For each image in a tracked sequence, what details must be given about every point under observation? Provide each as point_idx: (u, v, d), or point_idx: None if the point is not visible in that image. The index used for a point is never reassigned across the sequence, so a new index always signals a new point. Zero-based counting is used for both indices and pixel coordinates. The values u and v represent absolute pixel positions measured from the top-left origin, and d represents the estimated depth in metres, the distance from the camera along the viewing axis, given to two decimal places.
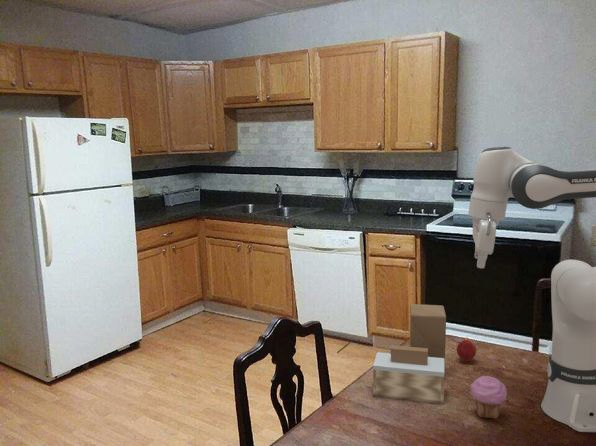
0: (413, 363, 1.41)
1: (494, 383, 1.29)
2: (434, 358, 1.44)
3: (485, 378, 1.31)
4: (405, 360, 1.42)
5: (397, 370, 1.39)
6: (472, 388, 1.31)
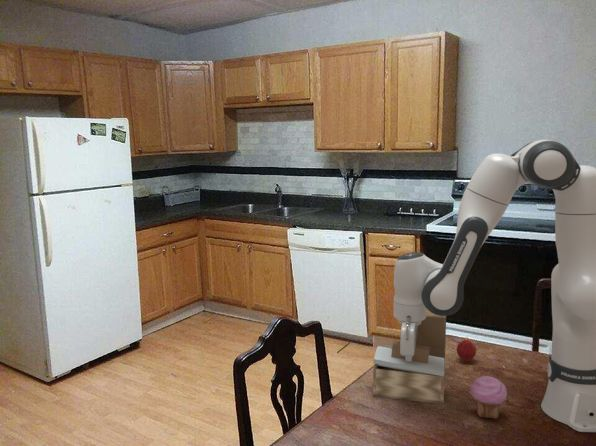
0: (413, 360, 1.41)
1: (494, 383, 1.29)
2: (434, 357, 1.44)
3: (485, 378, 1.31)
4: None
5: (397, 366, 1.39)
6: (472, 388, 1.31)
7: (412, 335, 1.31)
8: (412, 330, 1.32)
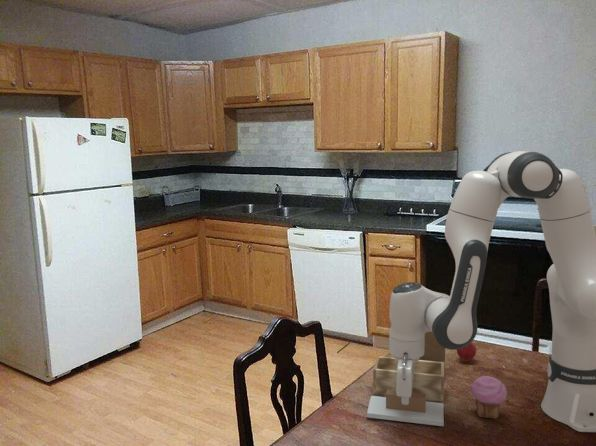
0: (410, 410, 1.31)
1: (494, 383, 1.29)
2: (432, 403, 1.34)
3: (485, 378, 1.31)
4: (401, 407, 1.31)
5: (393, 418, 1.29)
6: (472, 388, 1.31)
7: (409, 375, 1.21)
8: (409, 369, 1.21)
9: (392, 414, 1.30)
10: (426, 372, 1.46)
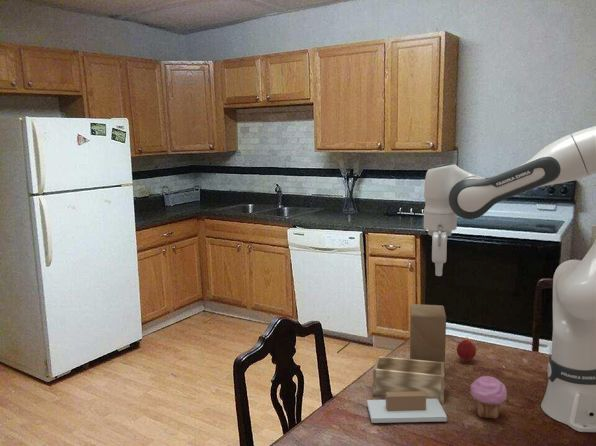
0: (411, 409, 1.31)
1: (494, 383, 1.29)
2: (428, 400, 1.36)
3: (485, 378, 1.31)
4: (402, 407, 1.31)
5: (397, 420, 1.28)
6: (472, 388, 1.31)
7: (444, 241, 1.32)
8: (444, 236, 1.32)
9: (396, 416, 1.29)
10: (426, 372, 1.46)
